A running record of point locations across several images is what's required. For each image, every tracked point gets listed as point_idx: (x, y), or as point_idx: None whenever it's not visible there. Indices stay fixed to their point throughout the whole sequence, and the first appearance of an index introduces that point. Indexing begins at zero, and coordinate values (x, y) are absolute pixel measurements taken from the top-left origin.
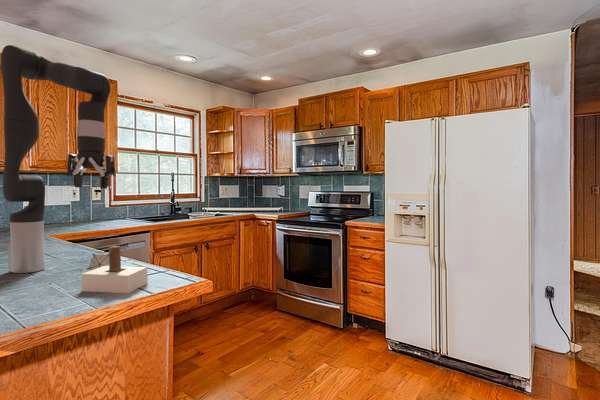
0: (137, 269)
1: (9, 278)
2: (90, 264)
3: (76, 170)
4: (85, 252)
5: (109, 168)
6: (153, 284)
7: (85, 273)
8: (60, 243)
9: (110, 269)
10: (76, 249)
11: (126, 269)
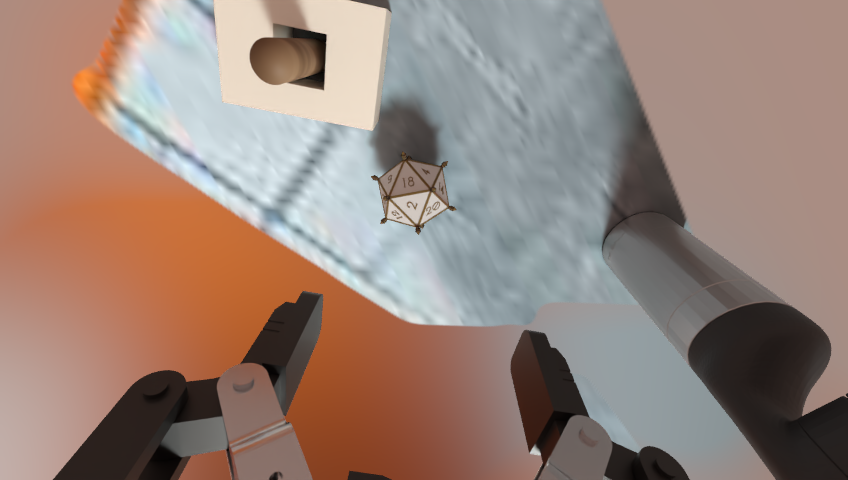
0: (234, 68)
1: (655, 165)
2: (438, 172)
3: (576, 464)
4: None
5: (88, 443)
6: None
7: (376, 14)
8: None
9: (305, 40)
10: None
11: None
